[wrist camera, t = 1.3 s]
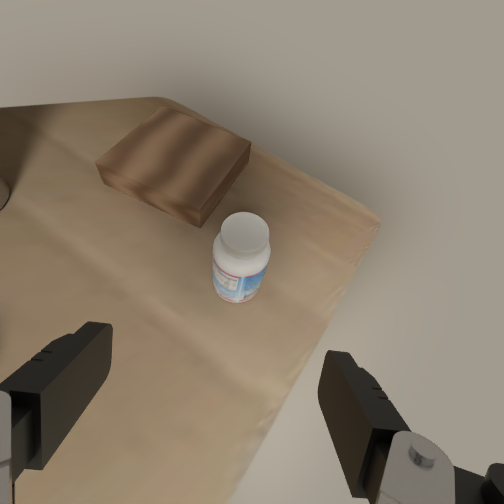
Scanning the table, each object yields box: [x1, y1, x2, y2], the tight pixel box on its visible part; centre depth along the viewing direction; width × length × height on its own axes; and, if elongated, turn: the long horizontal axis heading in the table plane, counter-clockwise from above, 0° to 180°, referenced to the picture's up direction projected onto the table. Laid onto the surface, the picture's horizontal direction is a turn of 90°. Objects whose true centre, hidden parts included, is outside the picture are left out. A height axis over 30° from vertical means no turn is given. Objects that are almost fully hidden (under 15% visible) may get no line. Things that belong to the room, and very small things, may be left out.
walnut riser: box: [95, 106, 251, 228], centre depth 43 cm, size 16×16×4 cm
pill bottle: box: [213, 212, 271, 303], centre depth 31 cm, size 6×6×11 cm
